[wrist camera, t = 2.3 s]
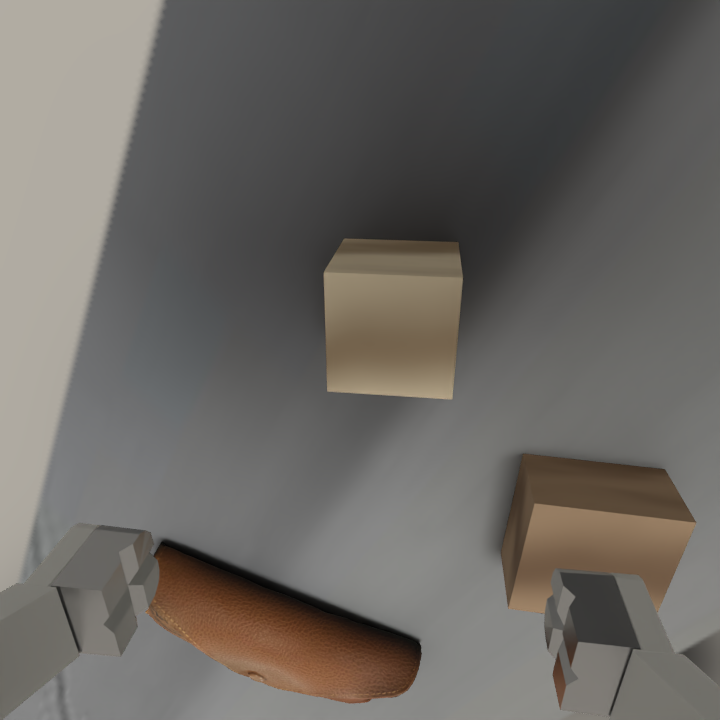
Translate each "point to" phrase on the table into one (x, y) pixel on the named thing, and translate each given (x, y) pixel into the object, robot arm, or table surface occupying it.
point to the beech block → (393, 317)
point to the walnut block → (591, 526)
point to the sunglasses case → (278, 634)
